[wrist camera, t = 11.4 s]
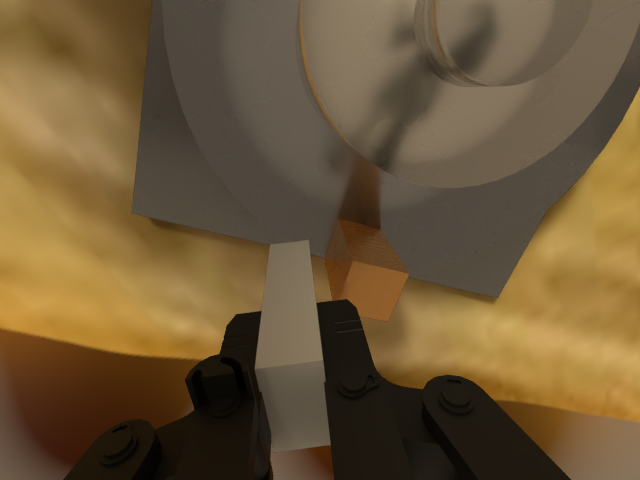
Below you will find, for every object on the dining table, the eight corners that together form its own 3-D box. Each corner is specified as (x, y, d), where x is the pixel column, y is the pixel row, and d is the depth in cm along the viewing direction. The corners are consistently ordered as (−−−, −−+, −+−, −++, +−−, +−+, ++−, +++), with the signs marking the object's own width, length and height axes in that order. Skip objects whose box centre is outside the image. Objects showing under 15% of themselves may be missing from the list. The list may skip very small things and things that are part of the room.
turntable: (227, -412, 10) (144, -1068, 4) (721, -133, 13) (1039, -294, 7) (153, 201, 16) (84, 260, 11) (493, 282, 19) (573, 359, 14)
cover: (276, 132, 13) (270, 166, 7) (323, -143, 10) (374, -454, 4) (467, 174, 15) (593, 231, 9) (555, -60, 12) (833, -214, 6)
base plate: (140, 206, 18) (131, 213, 17) (206, -428, 10) (198, -479, 9) (488, 288, 21) (497, 297, 20) (721, -136, 14) (751, -151, 13)
